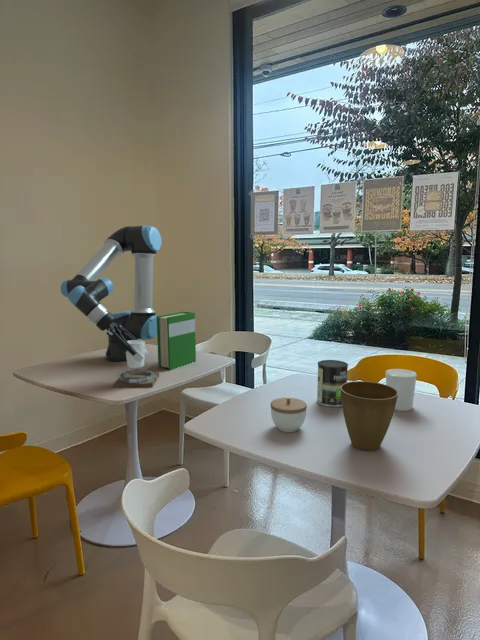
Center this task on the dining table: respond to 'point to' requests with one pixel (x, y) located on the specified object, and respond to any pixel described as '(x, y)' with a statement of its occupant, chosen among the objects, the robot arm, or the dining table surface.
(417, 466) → the dining table surface
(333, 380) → the coffee can
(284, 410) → the lidded jar
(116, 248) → the robot arm
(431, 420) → the dining table surface
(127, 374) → the ring holder
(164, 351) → the hardback book
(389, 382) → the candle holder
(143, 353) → the white cup
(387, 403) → the plant pot
